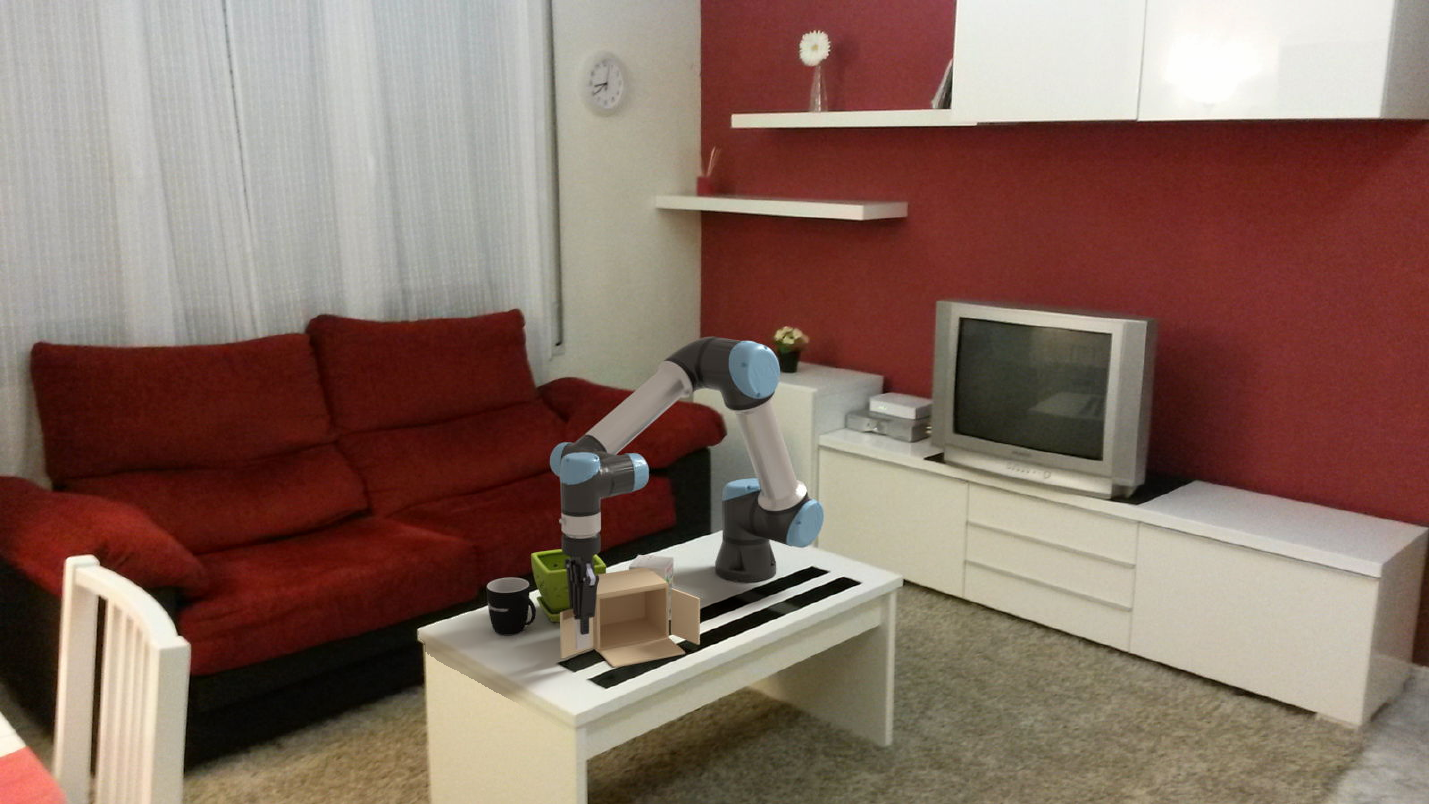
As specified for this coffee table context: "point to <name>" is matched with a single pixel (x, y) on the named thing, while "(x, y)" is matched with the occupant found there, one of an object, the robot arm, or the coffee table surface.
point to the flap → (570, 634)
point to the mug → (509, 605)
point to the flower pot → (555, 580)
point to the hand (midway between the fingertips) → (582, 647)
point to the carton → (641, 617)
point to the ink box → (657, 568)
